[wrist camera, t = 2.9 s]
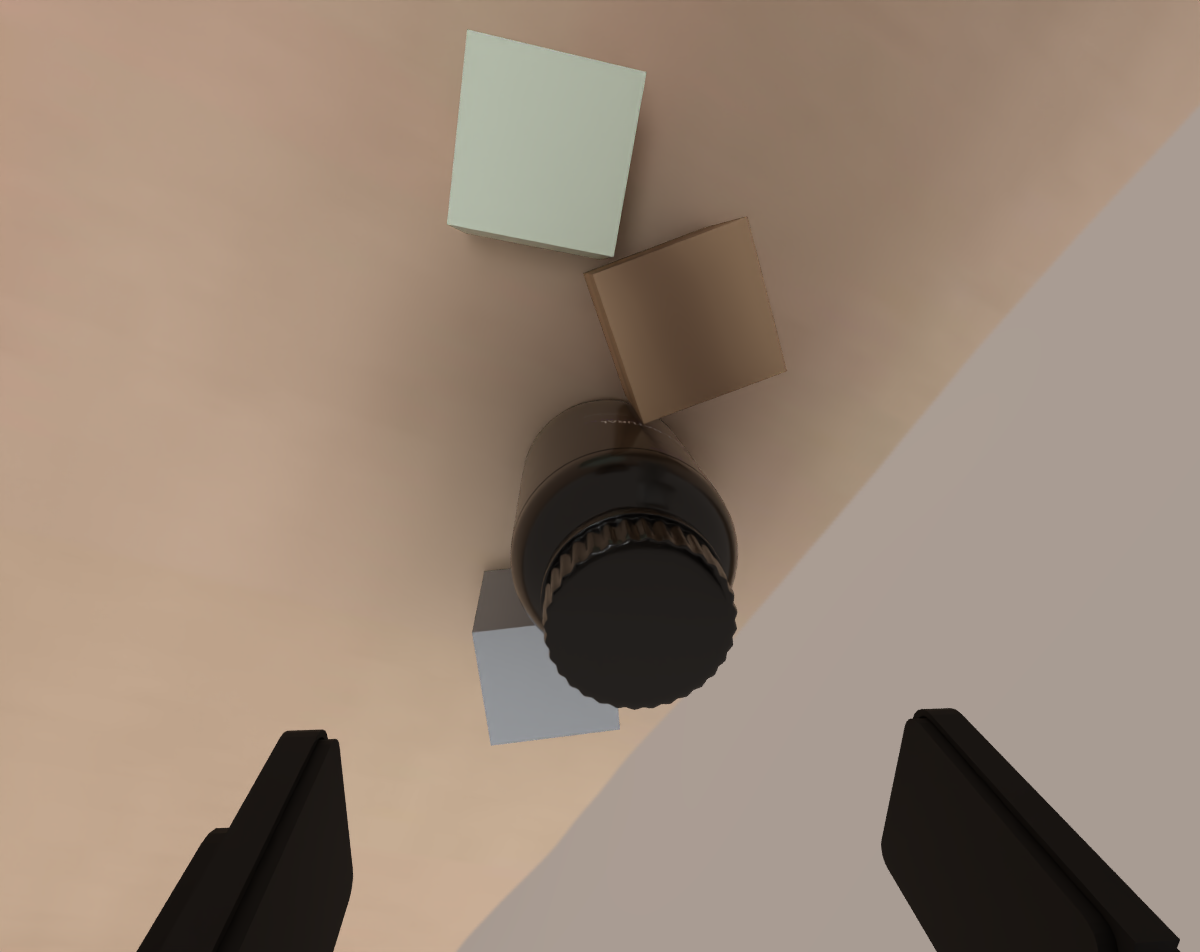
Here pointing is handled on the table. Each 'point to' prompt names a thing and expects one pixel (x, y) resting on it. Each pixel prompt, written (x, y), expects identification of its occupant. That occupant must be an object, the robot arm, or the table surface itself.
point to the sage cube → (542, 146)
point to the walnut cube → (688, 319)
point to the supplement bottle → (624, 557)
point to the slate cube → (525, 674)
